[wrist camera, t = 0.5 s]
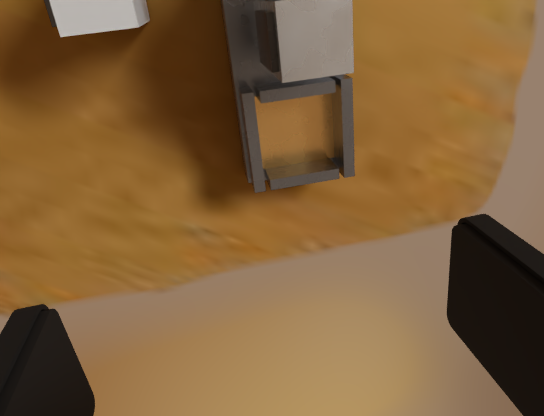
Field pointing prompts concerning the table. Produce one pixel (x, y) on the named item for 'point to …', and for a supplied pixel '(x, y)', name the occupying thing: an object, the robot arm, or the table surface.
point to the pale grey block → (96, 15)
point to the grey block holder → (292, 88)
